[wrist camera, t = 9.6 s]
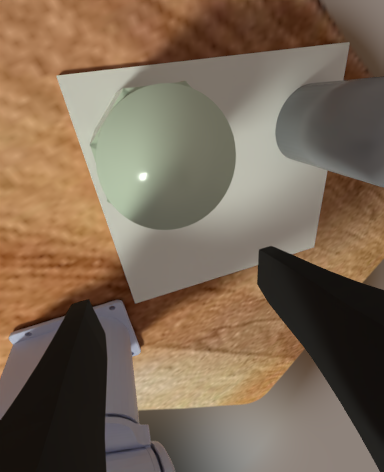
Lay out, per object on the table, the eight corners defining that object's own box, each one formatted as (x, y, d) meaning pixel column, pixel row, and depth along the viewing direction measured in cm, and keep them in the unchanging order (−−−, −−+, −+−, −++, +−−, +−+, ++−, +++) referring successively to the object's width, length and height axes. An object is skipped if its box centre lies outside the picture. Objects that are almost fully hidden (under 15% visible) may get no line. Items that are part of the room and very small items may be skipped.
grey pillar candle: (273, 165, 20) (356, 197, 13) (277, 88, 17) (386, 79, 11) (328, 153, 21) (430, 176, 15) (341, 78, 18) (476, 65, 12)
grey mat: (134, 300, 23) (135, 303, 23) (57, 76, 14) (56, 75, 13) (311, 245, 27) (313, 247, 27) (345, 43, 18) (350, 41, 17)
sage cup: (113, 188, 17) (118, 244, 10) (86, 97, 14) (70, 92, 7) (188, 173, 18) (237, 214, 12) (178, 86, 15) (235, 73, 9)
